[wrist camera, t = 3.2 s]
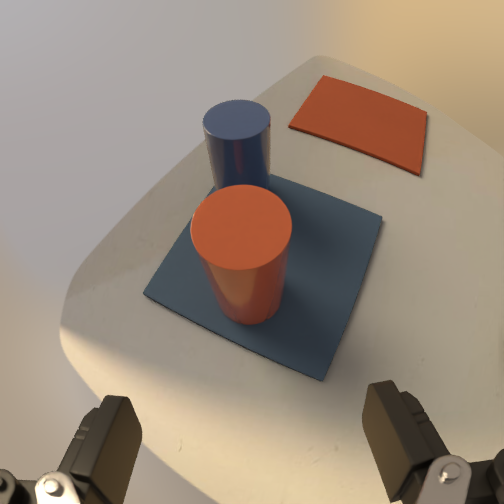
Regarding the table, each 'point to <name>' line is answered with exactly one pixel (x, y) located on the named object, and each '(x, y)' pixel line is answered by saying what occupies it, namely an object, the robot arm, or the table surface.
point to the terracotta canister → (244, 250)
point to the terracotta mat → (364, 122)
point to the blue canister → (238, 143)
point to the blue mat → (296, 281)
